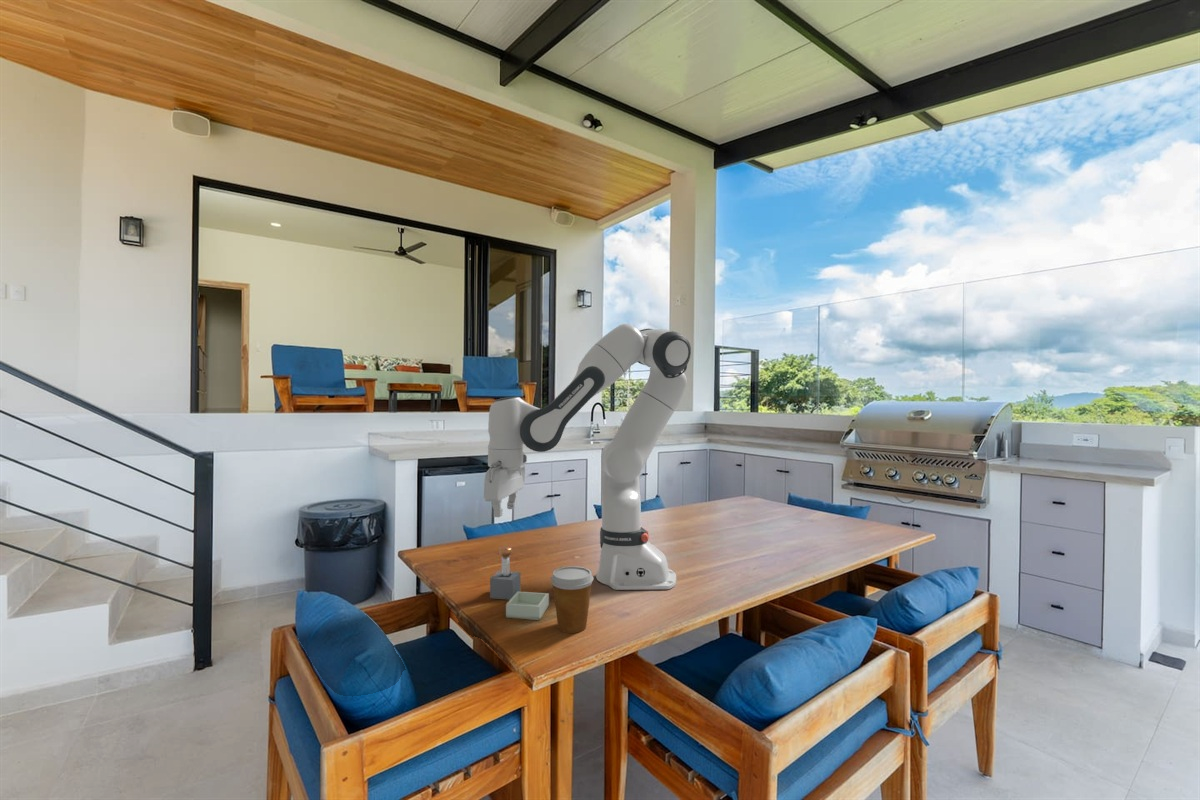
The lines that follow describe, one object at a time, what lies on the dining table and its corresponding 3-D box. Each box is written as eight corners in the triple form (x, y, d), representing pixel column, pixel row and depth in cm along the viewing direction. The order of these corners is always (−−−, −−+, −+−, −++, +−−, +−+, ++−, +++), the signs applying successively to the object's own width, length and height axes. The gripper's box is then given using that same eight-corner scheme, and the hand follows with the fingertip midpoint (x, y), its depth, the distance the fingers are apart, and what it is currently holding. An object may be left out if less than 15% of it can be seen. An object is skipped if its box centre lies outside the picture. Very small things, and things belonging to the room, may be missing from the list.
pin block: (520, 590, 132) (520, 571, 132) (512, 599, 126) (512, 579, 126) (498, 589, 133) (498, 570, 133) (490, 598, 127) (490, 578, 127)
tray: (548, 605, 122) (548, 593, 122) (539, 619, 114) (539, 606, 114) (517, 603, 124) (517, 591, 124) (506, 617, 116) (506, 604, 116)
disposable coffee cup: (602, 628, 110) (602, 574, 110) (565, 641, 104) (564, 583, 104) (578, 613, 118) (578, 562, 118) (542, 624, 112) (542, 570, 112)
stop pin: (513, 592, 131) (513, 546, 131) (509, 597, 128) (509, 550, 128) (502, 591, 131) (501, 546, 131) (497, 596, 128) (497, 549, 128)
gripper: (502, 464, 119) (501, 522, 119) (529, 455, 139) (528, 505, 139) (477, 463, 120) (476, 521, 120) (507, 454, 140) (507, 504, 140)
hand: (504, 512), depth 129 cm, fingers open, 8 cm apart
